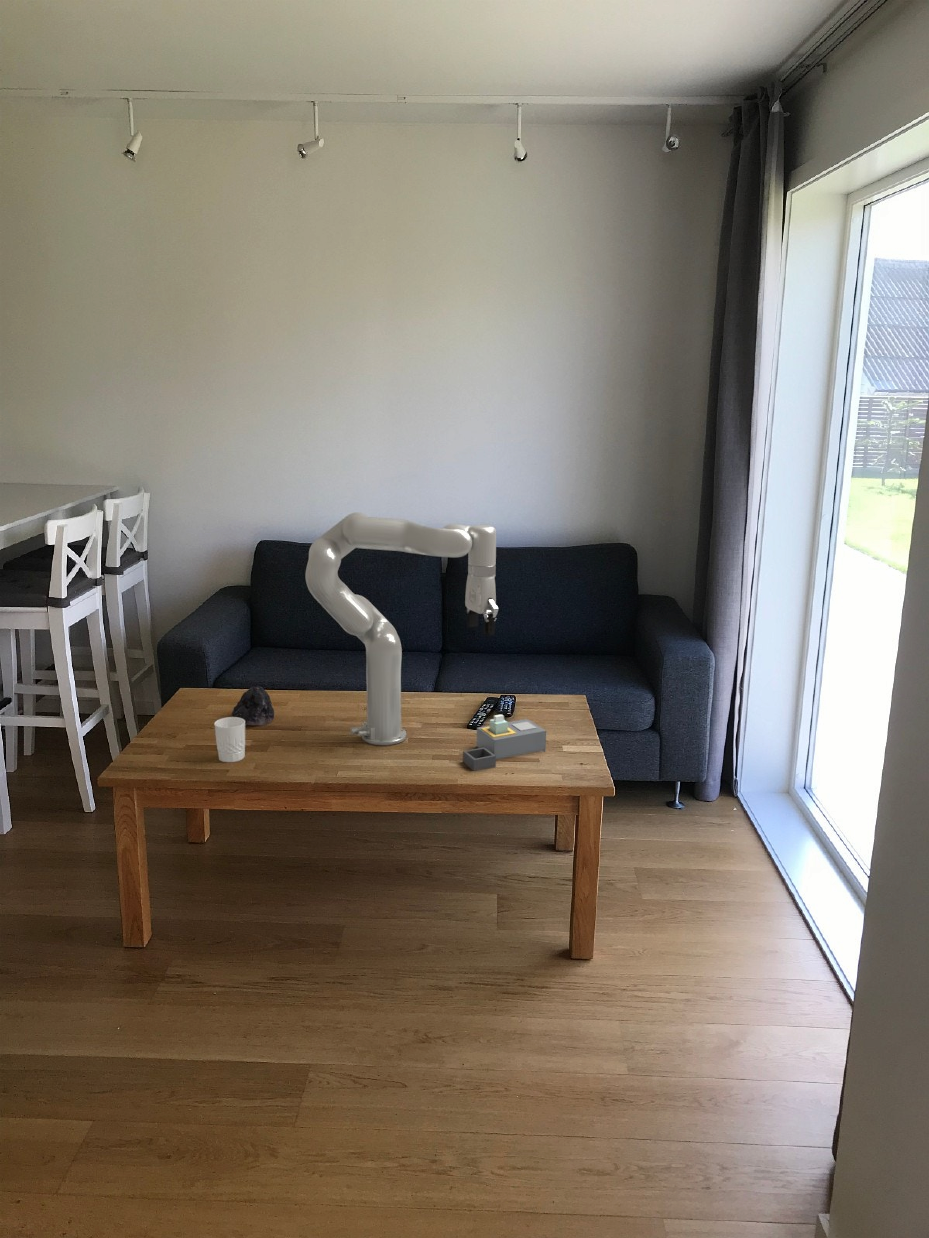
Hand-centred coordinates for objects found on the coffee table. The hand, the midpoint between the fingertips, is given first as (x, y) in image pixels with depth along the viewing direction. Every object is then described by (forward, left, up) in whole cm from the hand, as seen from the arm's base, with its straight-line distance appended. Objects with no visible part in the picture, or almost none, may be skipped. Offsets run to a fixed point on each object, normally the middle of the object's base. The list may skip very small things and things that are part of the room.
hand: (480, 630), depth 258 cm
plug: (-2, -15, -29) cm, 33 cm away
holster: (-11, -21, -30) cm, 38 cm away
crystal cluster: (-55, +38, -31) cm, 74 cm away
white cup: (-68, +12, -31) cm, 75 cm away
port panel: (+2, -15, -30) cm, 34 cm away
